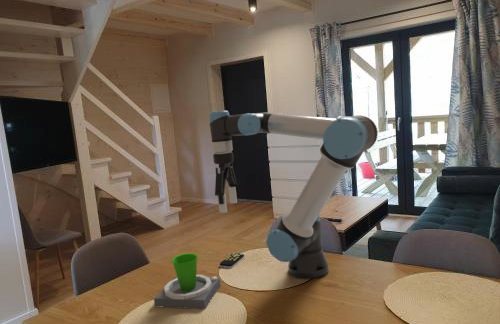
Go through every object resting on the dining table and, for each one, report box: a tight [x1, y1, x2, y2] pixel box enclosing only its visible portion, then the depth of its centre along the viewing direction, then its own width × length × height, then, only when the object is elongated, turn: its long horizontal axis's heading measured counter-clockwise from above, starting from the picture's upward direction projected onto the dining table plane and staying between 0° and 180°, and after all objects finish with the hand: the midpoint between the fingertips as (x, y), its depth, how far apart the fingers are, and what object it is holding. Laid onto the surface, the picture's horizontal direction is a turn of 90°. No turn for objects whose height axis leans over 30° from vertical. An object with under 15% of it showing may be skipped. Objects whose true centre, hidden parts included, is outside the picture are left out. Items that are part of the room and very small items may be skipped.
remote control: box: [219, 252, 245, 269], centre depth 156 cm, size 6×13×2 cm, turn 154°
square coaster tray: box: [153, 274, 221, 310], centre depth 129 cm, size 18×16×4 cm
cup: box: [171, 252, 199, 291], centre depth 128 cm, size 9×9×11 cm
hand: (228, 207), depth 140 cm, fingers open, 13 cm apart
